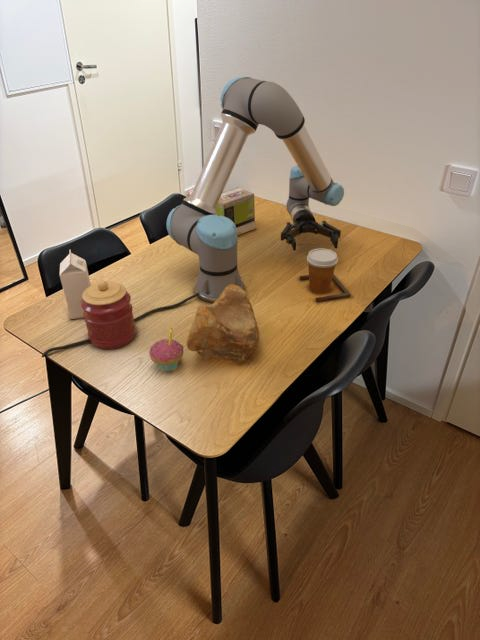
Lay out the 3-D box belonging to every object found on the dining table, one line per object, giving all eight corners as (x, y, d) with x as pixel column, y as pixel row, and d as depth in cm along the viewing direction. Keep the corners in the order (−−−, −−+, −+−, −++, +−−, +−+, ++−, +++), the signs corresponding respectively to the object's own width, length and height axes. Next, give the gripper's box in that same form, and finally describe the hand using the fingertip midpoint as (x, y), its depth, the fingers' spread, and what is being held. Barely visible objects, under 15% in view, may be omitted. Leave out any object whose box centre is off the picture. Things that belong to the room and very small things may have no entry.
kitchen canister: (90, 354, 131) (76, 298, 121) (88, 326, 141) (75, 273, 131) (139, 345, 134) (130, 289, 124) (133, 319, 144) (125, 266, 134)
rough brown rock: (234, 388, 120) (238, 340, 112) (178, 363, 126) (178, 315, 118) (275, 340, 137) (282, 295, 129) (224, 319, 143) (227, 275, 135)
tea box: (239, 221, 200) (238, 186, 191) (255, 229, 193) (255, 193, 185) (209, 232, 192) (207, 195, 183) (225, 240, 185) (224, 203, 177)
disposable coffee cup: (336, 282, 159) (340, 249, 152) (332, 298, 152) (336, 263, 145) (307, 279, 161) (309, 246, 154) (302, 294, 154) (304, 260, 147)
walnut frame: (316, 302, 150) (317, 299, 149) (299, 278, 162) (299, 276, 161) (350, 297, 152) (351, 294, 152) (331, 274, 164) (331, 271, 163)
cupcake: (185, 354, 130) (182, 317, 123) (183, 376, 123) (179, 337, 116) (153, 355, 130) (147, 318, 123) (149, 377, 123) (143, 339, 116)
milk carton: (70, 319, 144) (56, 262, 133) (71, 307, 150) (56, 250, 139) (95, 315, 146) (83, 258, 135) (94, 303, 151) (82, 247, 140)
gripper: (336, 227, 179) (352, 254, 161) (268, 230, 177) (276, 257, 160) (338, 207, 174) (355, 233, 157) (268, 210, 173) (277, 236, 155)
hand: (315, 245), depth 158 cm, fingers open, 13 cm apart
